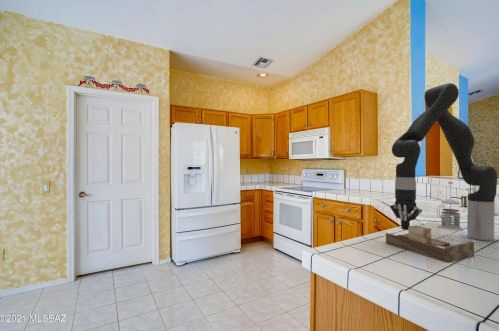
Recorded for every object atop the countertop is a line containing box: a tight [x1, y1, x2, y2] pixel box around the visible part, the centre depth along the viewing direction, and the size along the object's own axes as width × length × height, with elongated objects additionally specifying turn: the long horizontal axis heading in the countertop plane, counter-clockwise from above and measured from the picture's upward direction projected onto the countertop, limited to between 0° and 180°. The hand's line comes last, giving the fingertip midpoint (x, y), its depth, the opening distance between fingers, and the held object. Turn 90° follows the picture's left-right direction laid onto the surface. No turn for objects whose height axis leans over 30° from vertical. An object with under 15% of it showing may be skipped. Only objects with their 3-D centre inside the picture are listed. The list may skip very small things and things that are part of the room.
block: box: [407, 224, 432, 244], centre depth 103 cm, size 6×6×6 cm
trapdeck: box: [385, 232, 475, 263], centre depth 103 cm, size 16×24×5 cm, turn 24°
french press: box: [436, 181, 463, 231], centre depth 138 cm, size 10×12×25 cm
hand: (405, 229), depth 108 cm, fingers closed
